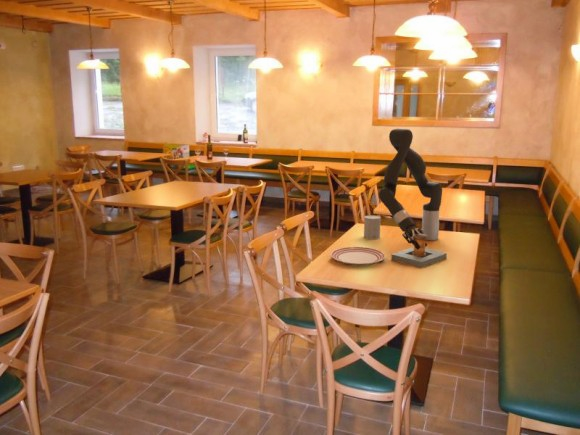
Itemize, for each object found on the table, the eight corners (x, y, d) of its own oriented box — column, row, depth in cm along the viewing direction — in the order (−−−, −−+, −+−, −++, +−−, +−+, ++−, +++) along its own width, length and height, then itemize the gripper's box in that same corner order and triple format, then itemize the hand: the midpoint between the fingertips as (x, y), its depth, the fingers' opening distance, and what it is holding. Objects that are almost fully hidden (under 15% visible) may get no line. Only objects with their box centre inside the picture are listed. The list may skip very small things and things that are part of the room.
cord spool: (417, 253, 270) (418, 232, 268) (428, 256, 265) (429, 235, 263) (409, 256, 266) (410, 235, 263) (420, 259, 261) (421, 237, 259)
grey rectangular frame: (416, 251, 280) (416, 246, 279) (446, 258, 267) (446, 253, 266) (391, 259, 265) (391, 254, 264) (421, 268, 252) (422, 262, 252)
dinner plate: (384, 270, 250) (384, 263, 249) (327, 266, 255) (327, 260, 255) (385, 253, 276) (385, 247, 276) (334, 251, 282) (334, 245, 281)
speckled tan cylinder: (362, 238, 306) (363, 218, 303) (365, 234, 315) (365, 214, 312) (378, 239, 303) (379, 219, 300) (381, 235, 312) (381, 215, 309)
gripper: (400, 218, 262) (419, 246, 256) (416, 214, 271) (435, 240, 265) (391, 226, 267) (409, 254, 261) (407, 222, 276) (425, 248, 270)
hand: (422, 247), depth 263 cm, fingers open, 5 cm apart
